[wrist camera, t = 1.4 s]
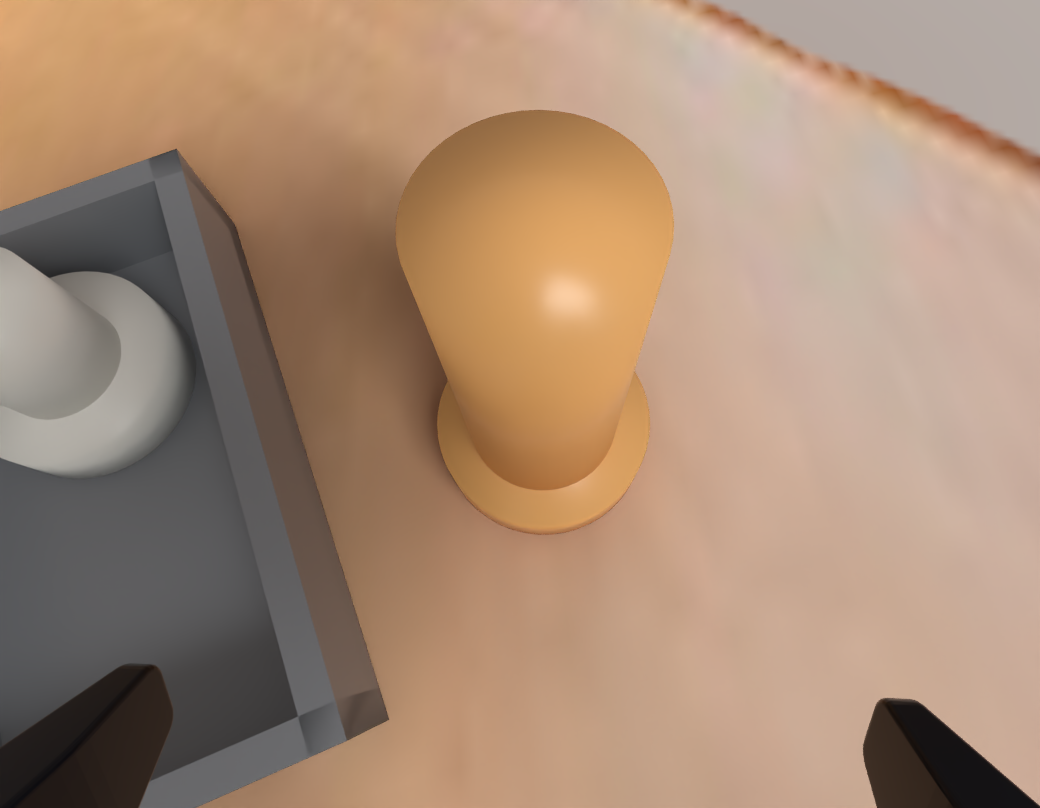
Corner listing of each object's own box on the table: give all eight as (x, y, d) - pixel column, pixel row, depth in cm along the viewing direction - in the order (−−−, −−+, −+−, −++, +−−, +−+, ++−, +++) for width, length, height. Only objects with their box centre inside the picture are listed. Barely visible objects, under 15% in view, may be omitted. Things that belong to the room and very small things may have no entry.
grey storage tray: (388, 719, 21) (312, 758, 14) (11, 886, 20) (-260, 1011, 13) (234, 224, 27) (133, 93, 21) (-56, 330, 26) (-260, 228, 20)
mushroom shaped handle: (682, 459, 23) (829, 260, 11) (517, 575, 22) (473, 499, 10) (566, 313, 25) (579, 9, 13) (410, 413, 24) (264, 184, 12)
